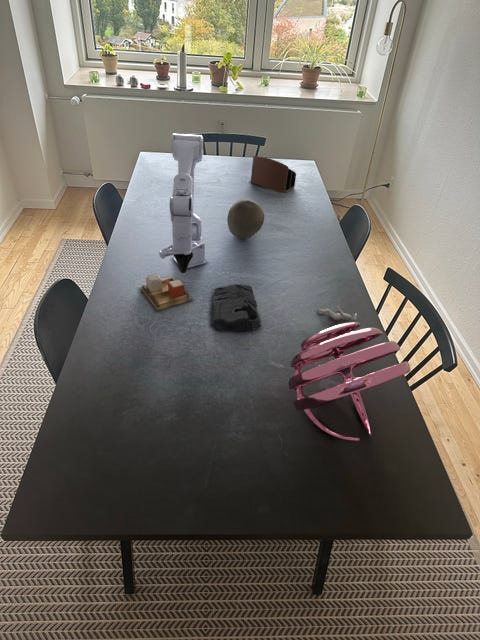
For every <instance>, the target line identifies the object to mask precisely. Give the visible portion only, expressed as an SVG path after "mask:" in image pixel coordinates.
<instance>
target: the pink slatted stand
mask: <svg viewBox="0 0 480 640" xmlns="http://www.w3.org/2000/svg"><path fill="white" fill-rule="evenodd" d="M360 327H361V323H360V322H358V321H346V322H342V323H338V324H335V325H333V326H330V327H329V326H328V327H327V328H324V329H322V330H319V331H317V332H315V333H313V334H311V335H309V336H308V337H306V338H305V339H303V341H302V342H301V344H300V348H301V349H300V351H299V353H297V354H296V355H294V356H293V357H292V360H291V361H290V367H291V368H294V373H293V376H291V377H289V379H288V388H289V390H294V391H295V393H296V400H293V402H292V403H293V406H294V409H295V410H296V412H303V413H305V414H306V416H307V417H308V419H309V420H310V421H311V422H312V423H313V424H314V425H315V426H316V427H317V428H319V429H320V430H321V431H323V432H324V433H325V434H327V435H329V436H332V437H334V438H336V439H339V440H342V441H347V442H360V441H361V440H360V438H359V437H354V436H353V437H352V436H347V435H343V434H340V433H338V432H336V431H334V430H332V429H330V428H328V427H327V426H326V425H324V423H322V422H321V421H320V420H319V419H318V418H317V417H316V415H315V414H314V412H313V411H312V408H315V407H318V406H322V405H324V404H326V403H330V402H332V401H336V400H338V399H339V400H340V399H341V398H344V397H348V396H349V397H350V399H351V400H352V403H353V405H354V407H355V410H356V412H357V414H358V416H359V419H360V421H361V423H362V425H363V428H364V429H365V431H366V433H367V435H368V436H369V437H372V429H371V424H370V421H369V417H368V414H367V411H366V407H365V404H364V401H363V398H362V396H361V391H364V390H367V389H369V388H372V387H376V386H378V385H381V384H383V383H386V382H389V381H392V380H394V379H397V378H400V377H402V376H404V375H407V374H409V373H410V372H411V366H410V364H409V361H406V360H404V361H402V362H400V363H397V364H394V365H391V366H389V367H385V368H382V369H380V370H377V371H374V372H372V373H369V374H366V375H364V376H361V377H356V376H354V375H353V370H355V369H356V368H359V367H361V366H364V365H367V364H369V363H372V362H374V361H377V360H380V359H382V358H385V357H388V356H390V355H392V354H394V353H397V352H400V350H401V347H400V345H399V344H398V343H397V341H394V340H389V341H385V342H382V343H378V344H375V345H372V346H369V347H366V348H363V349H360V350H356V351H355V352H351V353H349V354H345V352H347V351H348V350H351V349H354V348H356V347H358V346H361V345H363V344H366V343H368V342H371V341H372V340H375V339H377V338H379V337H380V336H382V335H383V331H382V330H381V329H379V328H377V327H374V326H370V327H365V328H361V329H358V328H360ZM331 357H333V358H335V359H332V360H330V361H327V362H324V363H321V364H319V365H316V366H314V367H312V368H309V369H307V370H304V371H302V372H301V369H302V367H303V366H306V365H308V364H312V363H315V362H317V361H321V360H324V359H327V358H331ZM338 375H339V376H341V377H342V382H341V383H340V384H338V385H335V386H332V387H330V388H327V389H324V390H321V391H318V392H316V393H313V394H310V395H305V394H304V392H303V391H304V390H303V387H306V386H307V385H310V384H313V383H316V382H319V381H323V380H325V379H328V378H331V377H333V376H338Z"/></svg>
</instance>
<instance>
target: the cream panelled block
mask: <svg viewBox="0 0 480 640" xmlns="http://www.w3.org/2000/svg"><path fill="white" fill-rule="evenodd" d="M162 279H163V278H161V277H160V275H159V274H158V273H154V274H151V275H147V276H145V284H146V286H147V288H148V290H149V291H150V292H151V293H152V292H155V291H159V290H162V289H163V287H162Z"/></svg>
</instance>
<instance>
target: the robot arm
mask: <svg viewBox="0 0 480 640" xmlns="http://www.w3.org/2000/svg"><path fill="white" fill-rule="evenodd" d="M170 152H171V155H172V158H173V160H174V161H177V169H178V171H177V174H176V175H175V176H173V183H172V193H171V194H172V196H171V197H169V214H170V221H171V228H172V230H171V231H172V232H171V234H172V244H171V245H169V246H167V247H165V248H163V249H159V250H158V252H159V254H158V255H159V257H160V258H161V259H163V260H164V259H166V257H170V256H173V258H172V260H173V261H174V262H175V263H176V264H177V266H178V269H179V272H180V274H183V275H184V274H186V273H187V270H188V269H190V268H193V267H197V266H200V265H201V266H202V265H204V264H206V261H205V259H206V256H205V255H206V253H205V251H206V246H205V241H204V239H203V238H202V220H201V217H200V216H198V215H197V214H196V213H195V212H194V209H195V208H194V207H195V169H196V165H197V164H198V163H200V162H202V160H203V154H204V153H203V152H204V137H203V135H202V134H184V133H175V132H174V133H172V134H171V136H170Z"/></svg>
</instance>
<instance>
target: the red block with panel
mask: <svg viewBox="0 0 480 640" xmlns="http://www.w3.org/2000/svg"><path fill="white" fill-rule="evenodd" d="M184 290H185V284H183V282H182V281H181V280H180V279H176V280H174V281H171V282H168V294H169V295H170V296H171V298H172V299H173V298H176V297H180V296H183V295H185V292H184Z"/></svg>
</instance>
